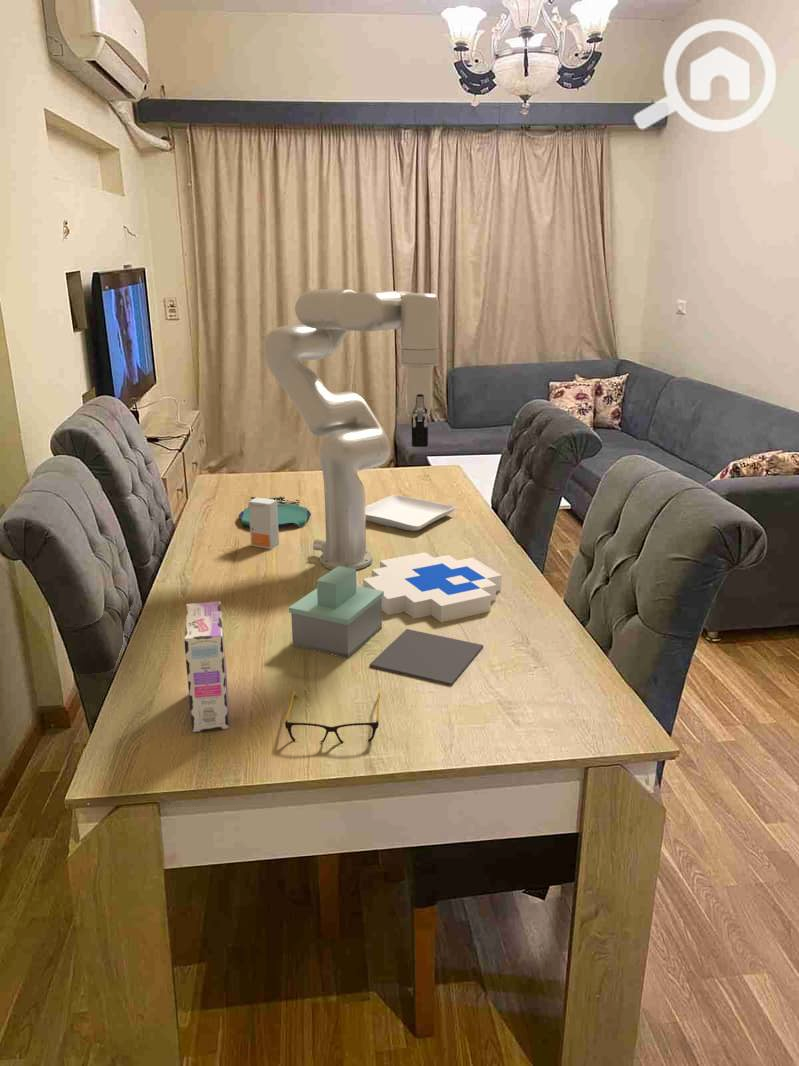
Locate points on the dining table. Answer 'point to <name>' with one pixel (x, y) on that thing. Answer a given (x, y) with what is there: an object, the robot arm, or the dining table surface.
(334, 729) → the eyeglasses
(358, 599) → the lid
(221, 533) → the dining table surface
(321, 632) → the storage box
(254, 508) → the skincare box
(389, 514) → the salad plate
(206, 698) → the candy box
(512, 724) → the dining table surface
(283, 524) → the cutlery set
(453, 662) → the mat
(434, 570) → the pixel art tile
